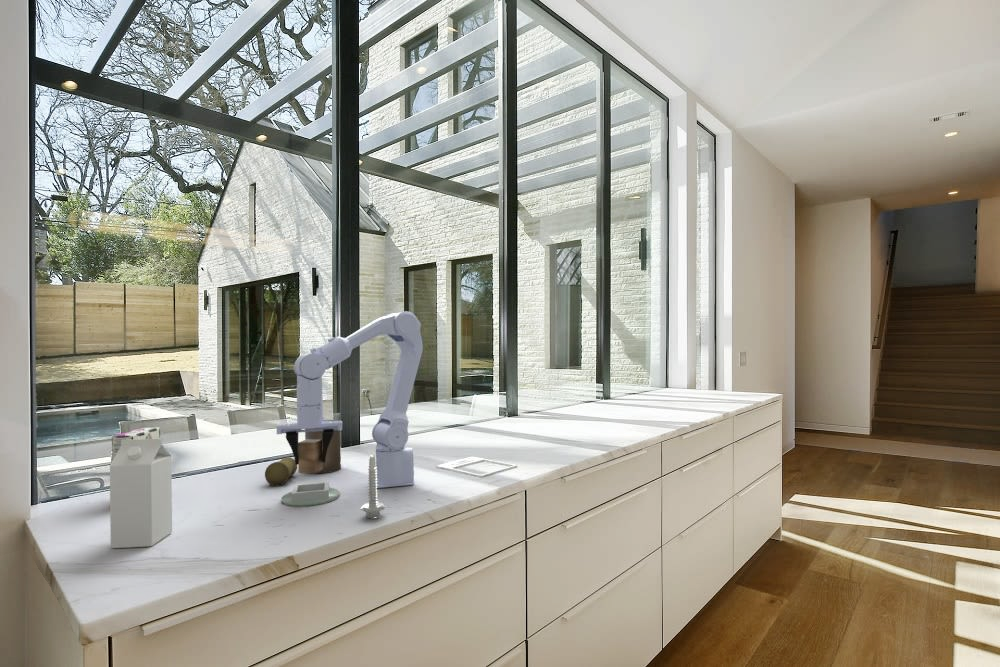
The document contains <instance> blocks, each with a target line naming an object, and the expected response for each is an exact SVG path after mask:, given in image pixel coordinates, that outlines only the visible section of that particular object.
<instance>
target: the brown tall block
mask: <svg viewBox="0 0 1000 667" xmlns="http://www.w3.org/2000/svg"><path fill="white" fill-rule="evenodd" d="M298 460H299V463H298V465H297V470H298V473H299V474H317V473H316V472H318V471H320V470H322V469H323V463H322V440H311V439H306V440H305V439H304V440H302V441H301V440H300V441H298Z"/></svg>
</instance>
